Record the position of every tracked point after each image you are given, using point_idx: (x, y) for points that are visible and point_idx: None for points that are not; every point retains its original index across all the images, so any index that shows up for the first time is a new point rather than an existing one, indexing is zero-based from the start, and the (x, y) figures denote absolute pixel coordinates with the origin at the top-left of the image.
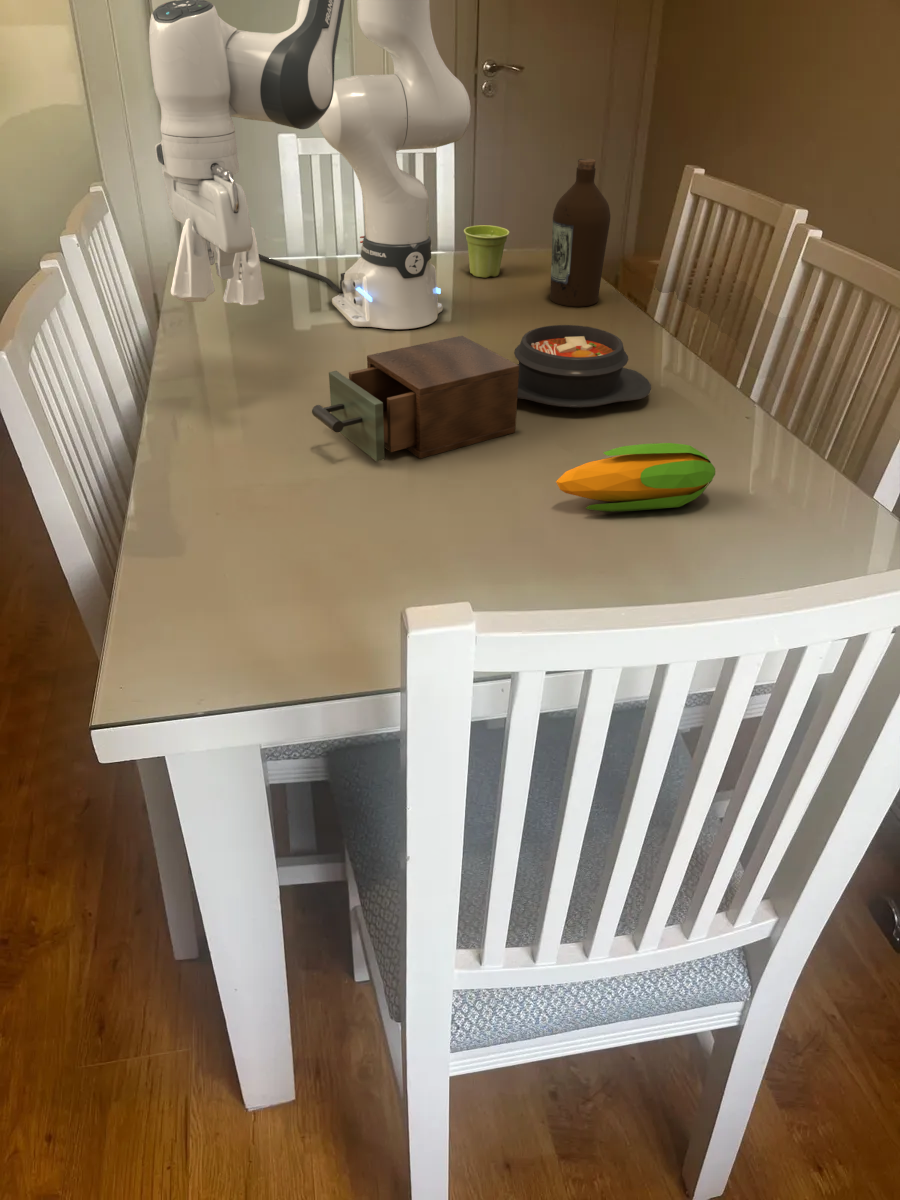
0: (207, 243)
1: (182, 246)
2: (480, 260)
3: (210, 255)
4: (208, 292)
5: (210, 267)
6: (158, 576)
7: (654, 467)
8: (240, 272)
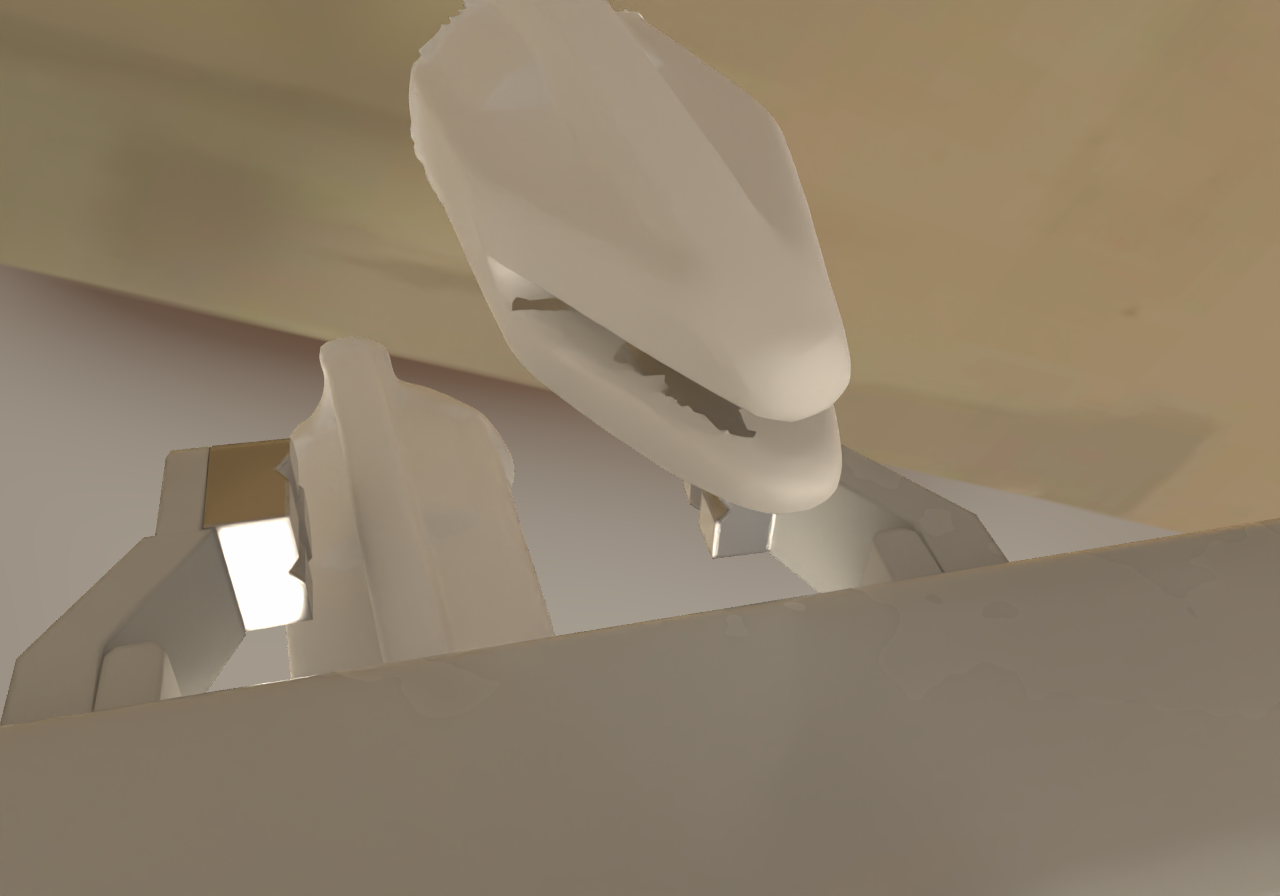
0: (177, 595)
1: None
2: None
3: (298, 519)
4: (401, 390)
5: (407, 484)
6: (1236, 480)
7: None
8: (460, 194)
